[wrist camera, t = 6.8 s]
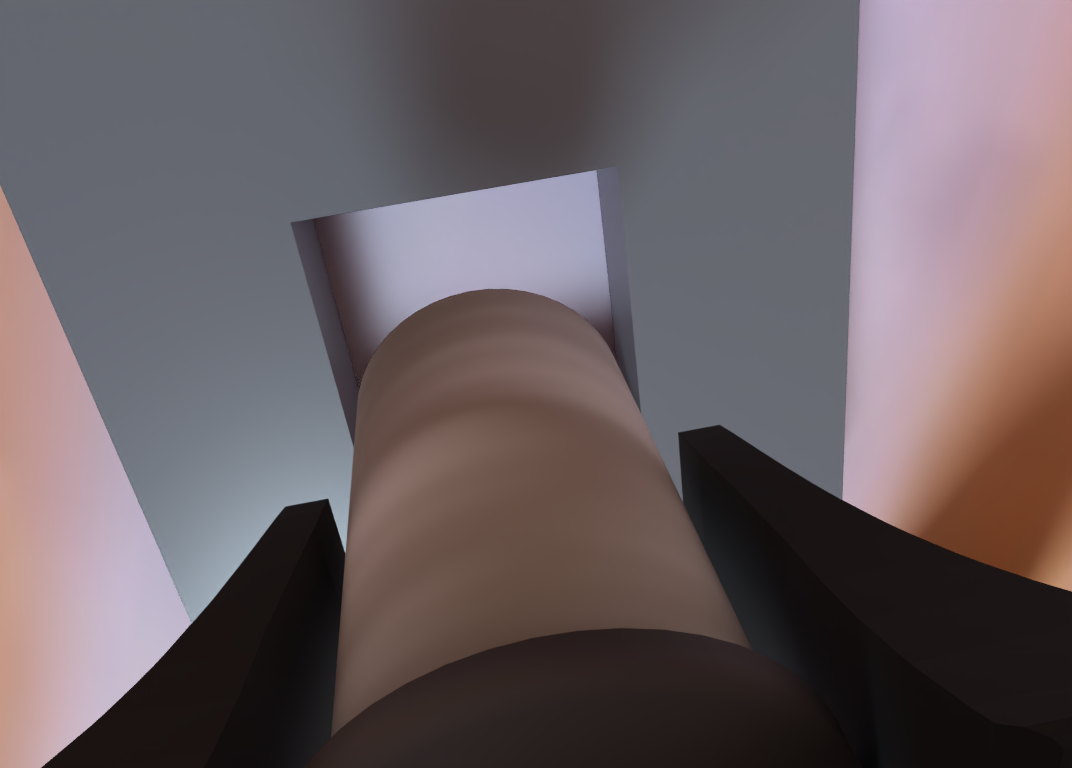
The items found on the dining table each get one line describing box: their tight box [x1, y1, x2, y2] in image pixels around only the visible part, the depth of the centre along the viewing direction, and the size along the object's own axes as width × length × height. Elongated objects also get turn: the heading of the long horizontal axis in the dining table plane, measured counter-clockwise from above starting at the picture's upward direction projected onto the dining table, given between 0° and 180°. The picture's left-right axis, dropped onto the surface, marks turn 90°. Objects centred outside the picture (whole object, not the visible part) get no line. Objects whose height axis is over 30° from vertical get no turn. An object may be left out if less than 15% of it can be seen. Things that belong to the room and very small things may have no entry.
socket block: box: [0, 0, 860, 623], centre depth 19 cm, size 16×16×2 cm
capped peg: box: [305, 289, 862, 768], centre depth 11 cm, size 5×5×8 cm
